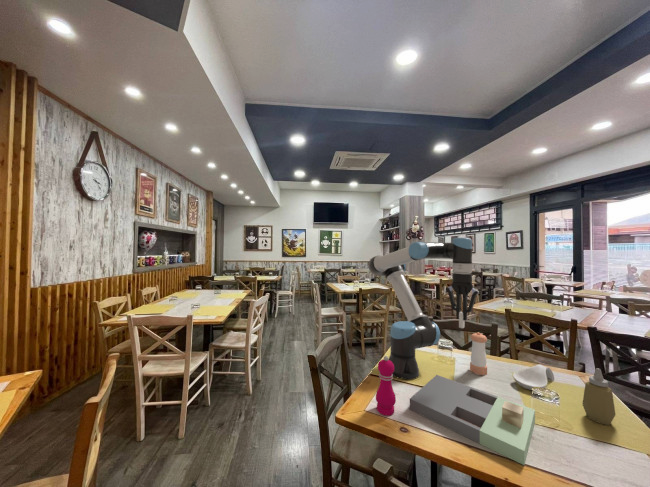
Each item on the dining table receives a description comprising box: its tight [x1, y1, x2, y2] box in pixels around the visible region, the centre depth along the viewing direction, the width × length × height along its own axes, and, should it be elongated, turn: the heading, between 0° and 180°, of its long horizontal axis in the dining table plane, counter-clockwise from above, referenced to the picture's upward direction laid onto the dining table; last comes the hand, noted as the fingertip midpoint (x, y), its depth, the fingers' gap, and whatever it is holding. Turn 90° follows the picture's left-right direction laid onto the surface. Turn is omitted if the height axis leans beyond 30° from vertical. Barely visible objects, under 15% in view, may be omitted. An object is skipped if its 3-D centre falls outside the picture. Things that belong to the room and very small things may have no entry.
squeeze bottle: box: [582, 367, 617, 426], centre depth 91 cm, size 8×8×18 cm
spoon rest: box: [512, 364, 555, 391], centre depth 115 cm, size 24×12×7 cm, turn 119°
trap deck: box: [409, 374, 536, 466], centre depth 92 cm, size 34×26×4 cm
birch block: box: [502, 401, 524, 428], centre depth 83 cm, size 5×5×4 cm
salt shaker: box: [469, 331, 488, 376], centre depth 125 cm, size 7×7×19 cm
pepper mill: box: [375, 355, 397, 416], centre depth 94 cm, size 7×7×20 cm
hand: (461, 327), depth 110 cm, fingers closed
